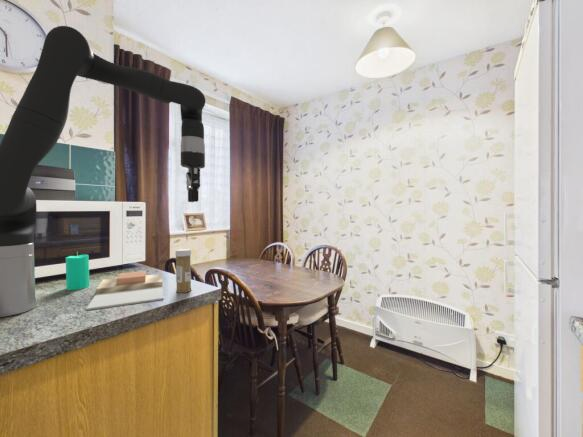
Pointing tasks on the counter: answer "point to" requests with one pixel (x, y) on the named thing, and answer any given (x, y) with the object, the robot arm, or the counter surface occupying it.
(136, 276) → the tile
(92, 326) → the counter surface
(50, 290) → the counter surface
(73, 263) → the candle
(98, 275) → the counter surface
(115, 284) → the deck
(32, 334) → the counter surface
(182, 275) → the sprinkles bottle
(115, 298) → the mat
